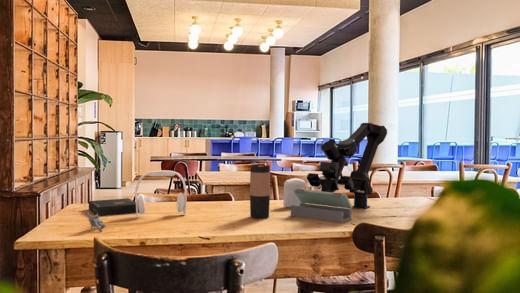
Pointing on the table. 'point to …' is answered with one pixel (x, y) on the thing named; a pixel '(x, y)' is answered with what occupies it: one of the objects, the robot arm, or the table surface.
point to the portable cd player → (112, 207)
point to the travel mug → (259, 191)
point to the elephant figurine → (95, 221)
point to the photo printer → (289, 194)
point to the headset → (181, 197)
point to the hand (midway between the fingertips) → (322, 198)
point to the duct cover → (323, 198)
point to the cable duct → (321, 212)
